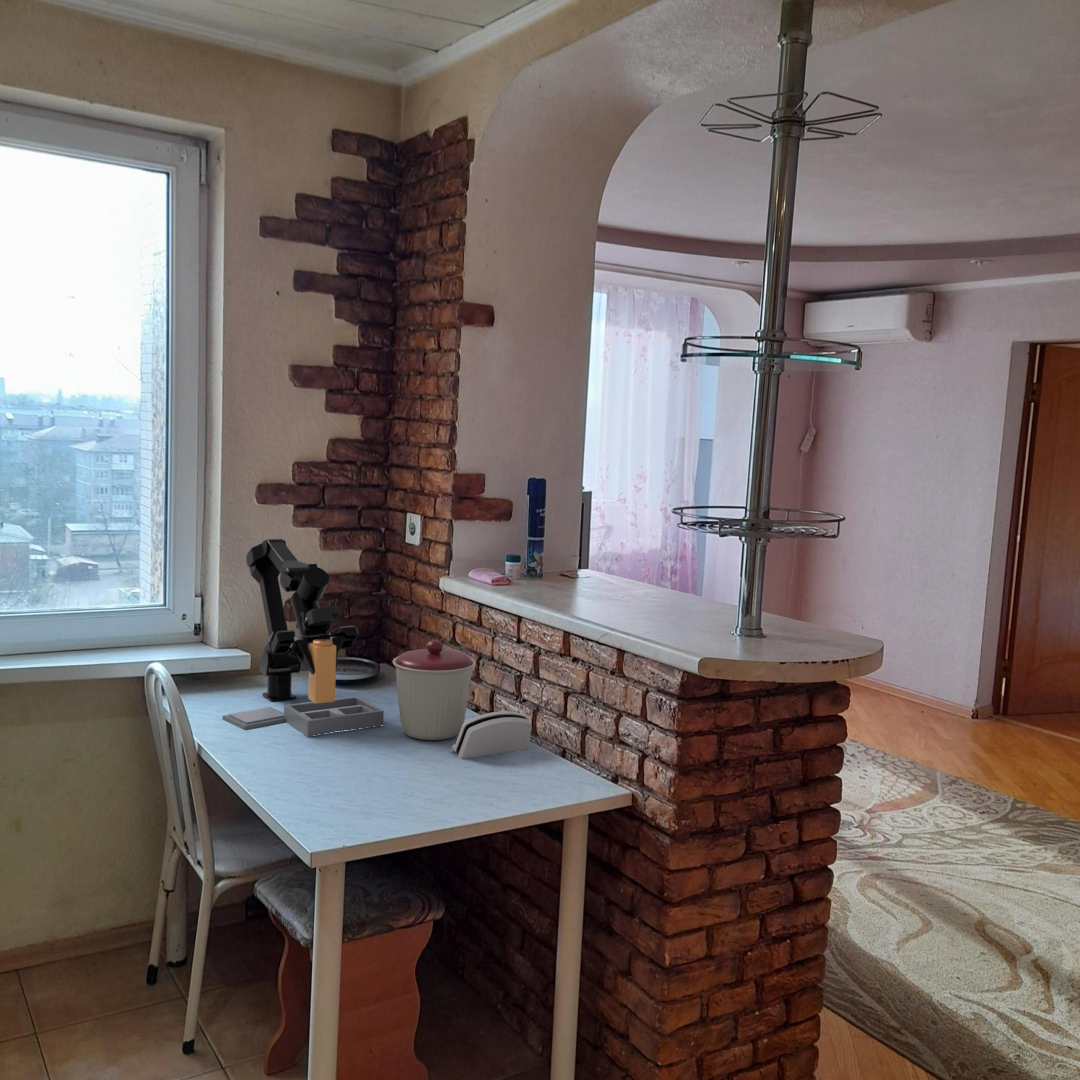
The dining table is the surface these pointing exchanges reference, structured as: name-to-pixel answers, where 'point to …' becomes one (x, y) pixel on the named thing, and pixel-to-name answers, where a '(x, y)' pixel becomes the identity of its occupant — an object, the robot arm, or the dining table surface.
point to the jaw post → (322, 671)
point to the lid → (255, 718)
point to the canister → (433, 691)
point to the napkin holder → (493, 734)
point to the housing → (333, 715)
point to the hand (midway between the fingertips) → (324, 672)
